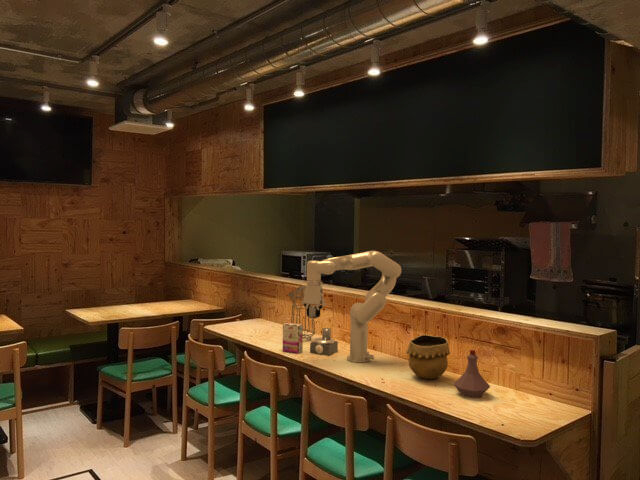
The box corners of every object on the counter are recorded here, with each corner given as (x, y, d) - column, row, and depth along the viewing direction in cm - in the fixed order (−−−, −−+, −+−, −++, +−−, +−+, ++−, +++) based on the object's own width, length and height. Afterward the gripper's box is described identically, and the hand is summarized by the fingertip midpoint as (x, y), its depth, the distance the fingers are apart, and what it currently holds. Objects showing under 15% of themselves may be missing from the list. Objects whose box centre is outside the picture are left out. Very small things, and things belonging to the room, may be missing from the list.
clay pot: (436, 387, 247) (437, 345, 246) (397, 378, 261) (398, 338, 260) (457, 378, 263) (458, 338, 262) (419, 369, 277) (420, 331, 276)
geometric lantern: (318, 341, 336) (319, 287, 334) (295, 344, 329) (295, 288, 327) (308, 336, 350) (308, 283, 348) (286, 338, 343) (286, 285, 341)
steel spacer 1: (319, 317, 290) (319, 306, 290) (315, 318, 285) (315, 307, 285) (311, 316, 292) (311, 305, 292) (307, 317, 288) (307, 306, 287)
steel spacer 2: (332, 338, 313) (332, 328, 312) (328, 340, 308) (328, 330, 308) (324, 337, 315) (324, 327, 315) (320, 339, 310) (320, 329, 310)
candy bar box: (302, 352, 308) (303, 324, 308) (298, 354, 304) (299, 325, 303) (286, 349, 313) (287, 322, 313) (282, 351, 309) (282, 323, 308)
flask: (474, 403, 227) (476, 357, 226) (444, 392, 240) (446, 349, 240) (498, 396, 237) (499, 352, 236) (468, 386, 250) (469, 344, 249)
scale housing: (337, 351, 312) (337, 341, 312) (328, 356, 301) (328, 345, 300) (319, 348, 317) (319, 338, 317) (309, 353, 306) (309, 342, 306)
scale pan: (337, 341, 312) (337, 339, 312) (328, 345, 301) (328, 343, 301) (319, 338, 317) (319, 336, 317) (310, 342, 306) (310, 340, 306)
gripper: (330, 283, 287) (330, 316, 288) (303, 281, 295) (303, 314, 296) (324, 285, 281) (324, 319, 282) (296, 283, 289) (296, 316, 289)
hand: (313, 316), depth 289 cm, fingers closed on steel spacer 1, 5 cm apart
